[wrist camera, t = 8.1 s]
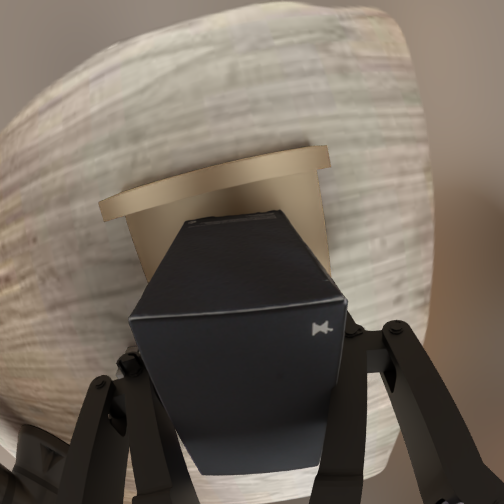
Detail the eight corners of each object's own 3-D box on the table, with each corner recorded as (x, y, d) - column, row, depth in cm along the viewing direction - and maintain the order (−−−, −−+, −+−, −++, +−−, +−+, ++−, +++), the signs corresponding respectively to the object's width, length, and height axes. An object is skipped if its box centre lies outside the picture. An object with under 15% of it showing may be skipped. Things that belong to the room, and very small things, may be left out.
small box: (176, 218, 16) (111, 314, 7) (284, 207, 17) (360, 287, 7) (203, 356, 20) (196, 480, 10) (289, 347, 20) (325, 466, 11)
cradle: (146, 379, 23) (137, 406, 20) (70, 211, 17) (43, 223, 14) (335, 345, 23) (348, 373, 19) (310, 145, 17) (327, 145, 14)
